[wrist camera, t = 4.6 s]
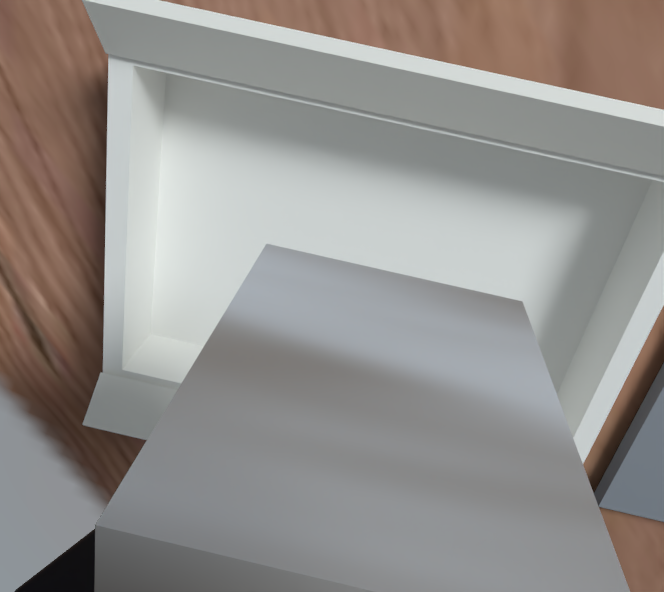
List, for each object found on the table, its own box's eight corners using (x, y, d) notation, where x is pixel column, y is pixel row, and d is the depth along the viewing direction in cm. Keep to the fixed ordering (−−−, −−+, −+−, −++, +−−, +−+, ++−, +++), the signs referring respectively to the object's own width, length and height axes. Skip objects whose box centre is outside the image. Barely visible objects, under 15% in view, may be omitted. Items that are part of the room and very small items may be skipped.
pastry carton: (542, 458, 21) (567, 546, 17) (134, 363, 21) (82, 432, 18) (704, 108, 15) (786, 137, 12) (152, -12, 16) (81, -16, 12)
